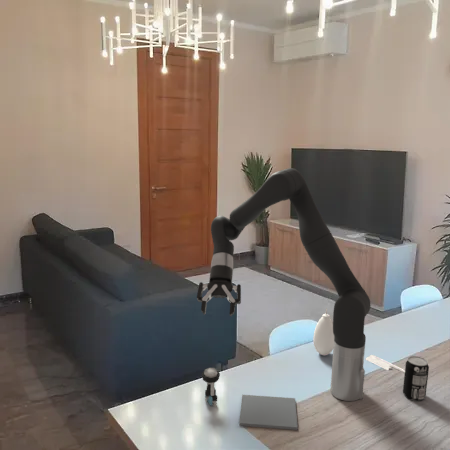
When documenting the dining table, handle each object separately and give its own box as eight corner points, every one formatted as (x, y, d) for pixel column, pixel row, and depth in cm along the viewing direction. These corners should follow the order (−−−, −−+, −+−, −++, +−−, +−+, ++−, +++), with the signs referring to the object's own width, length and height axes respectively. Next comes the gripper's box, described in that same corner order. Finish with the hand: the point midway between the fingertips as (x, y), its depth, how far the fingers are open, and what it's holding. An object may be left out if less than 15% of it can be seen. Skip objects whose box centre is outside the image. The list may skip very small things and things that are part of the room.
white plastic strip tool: (400, 379, 155) (401, 376, 155) (363, 360, 167) (364, 358, 167) (409, 374, 158) (410, 371, 158) (372, 356, 170) (373, 353, 169)
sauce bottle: (308, 354, 170) (311, 308, 166) (319, 347, 175) (322, 302, 172) (327, 361, 165) (331, 314, 161) (338, 354, 170) (341, 307, 167)
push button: (223, 406, 137) (224, 375, 135) (207, 410, 135) (207, 379, 133) (215, 394, 143) (215, 365, 141) (199, 398, 141) (199, 368, 139)
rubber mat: (294, 400, 141) (295, 398, 141) (297, 429, 127) (297, 427, 127) (242, 396, 142) (242, 394, 142) (239, 425, 129) (239, 423, 128)
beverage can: (408, 387, 149) (411, 353, 146) (428, 396, 144) (433, 360, 142) (398, 395, 144) (402, 360, 142) (419, 404, 140) (424, 368, 137)
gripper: (199, 262, 154) (194, 308, 146) (242, 265, 153) (239, 311, 144) (201, 273, 161) (196, 317, 152) (243, 275, 159) (240, 320, 151)
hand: (217, 314), depth 148 cm, fingers open, 8 cm apart
